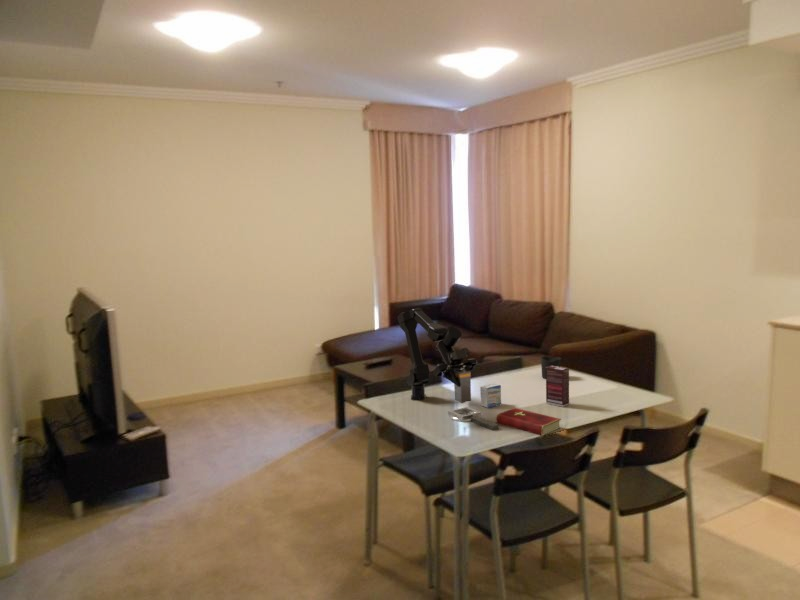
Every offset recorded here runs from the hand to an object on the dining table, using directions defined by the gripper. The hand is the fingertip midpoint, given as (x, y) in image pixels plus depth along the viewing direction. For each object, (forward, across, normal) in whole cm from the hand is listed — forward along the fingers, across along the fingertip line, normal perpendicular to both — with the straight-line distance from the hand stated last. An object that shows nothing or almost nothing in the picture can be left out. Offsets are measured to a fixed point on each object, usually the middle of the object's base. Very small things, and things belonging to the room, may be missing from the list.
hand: (464, 385), depth 240 cm
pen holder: (-8, +71, +28) cm, 77 cm away
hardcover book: (+25, +14, -5) cm, 29 cm away
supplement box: (+15, +42, +4) cm, 45 cm away
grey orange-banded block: (+4, 0, +6) cm, 7 cm away
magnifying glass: (+13, +1, +6) cm, 14 cm away
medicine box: (+5, +19, +15) cm, 24 cm away
